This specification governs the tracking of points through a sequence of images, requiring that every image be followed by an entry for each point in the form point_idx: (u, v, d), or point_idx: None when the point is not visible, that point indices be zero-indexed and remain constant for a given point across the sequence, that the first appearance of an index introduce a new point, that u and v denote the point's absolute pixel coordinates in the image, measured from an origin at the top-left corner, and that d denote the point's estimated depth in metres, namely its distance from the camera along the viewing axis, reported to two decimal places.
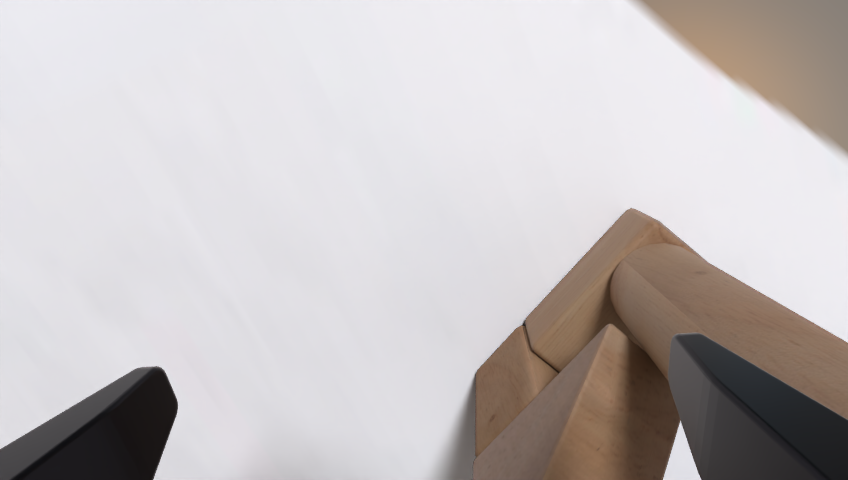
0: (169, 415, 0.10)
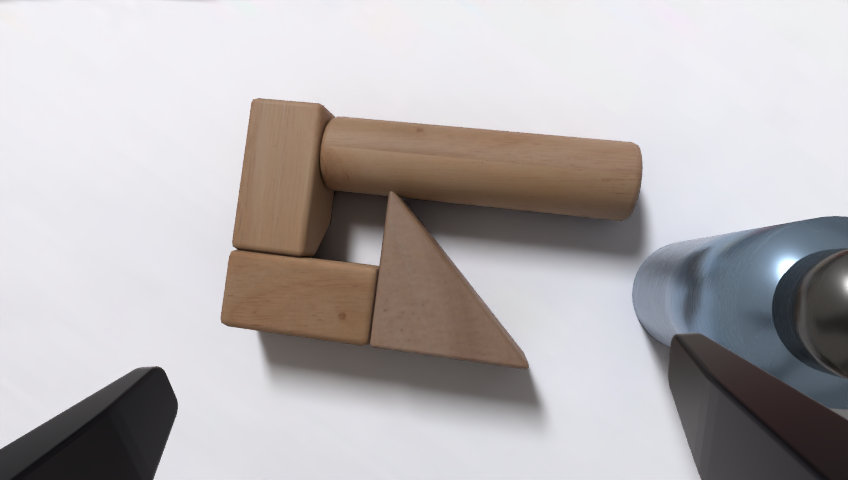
0: (169, 415, 0.10)
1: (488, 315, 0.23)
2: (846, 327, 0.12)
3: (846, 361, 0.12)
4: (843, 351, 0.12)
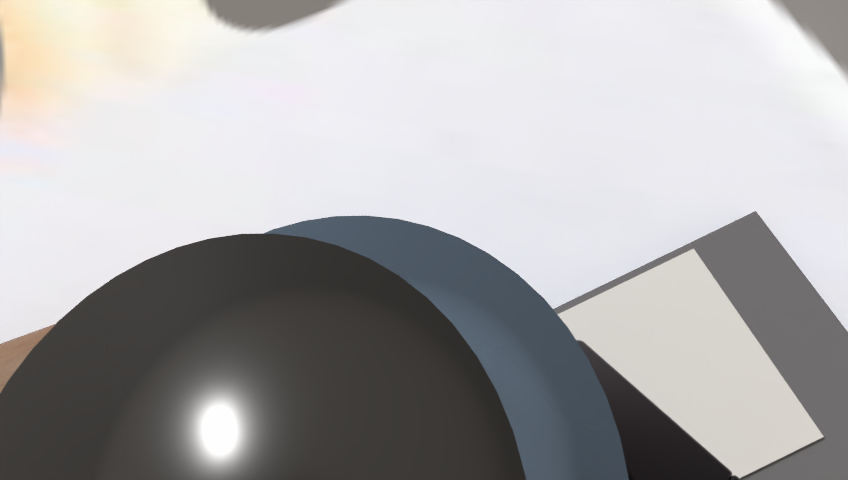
0: None
1: None
2: None
3: None
4: None
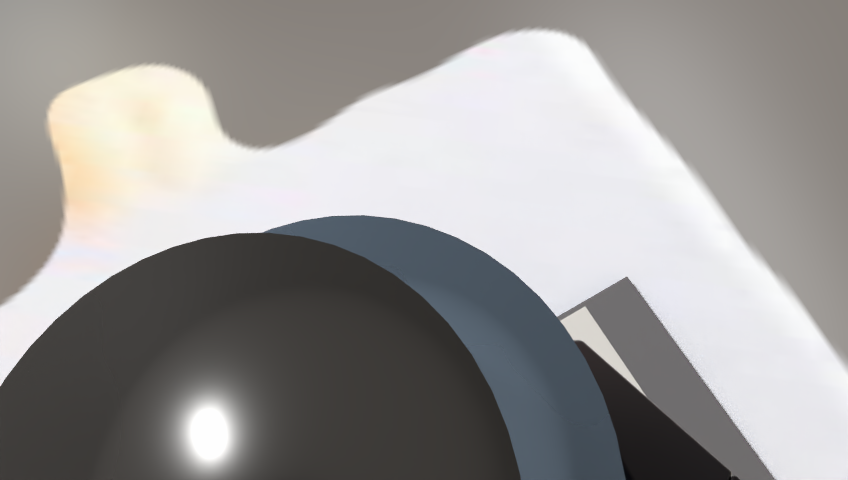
0: None
1: None
2: None
3: None
4: None
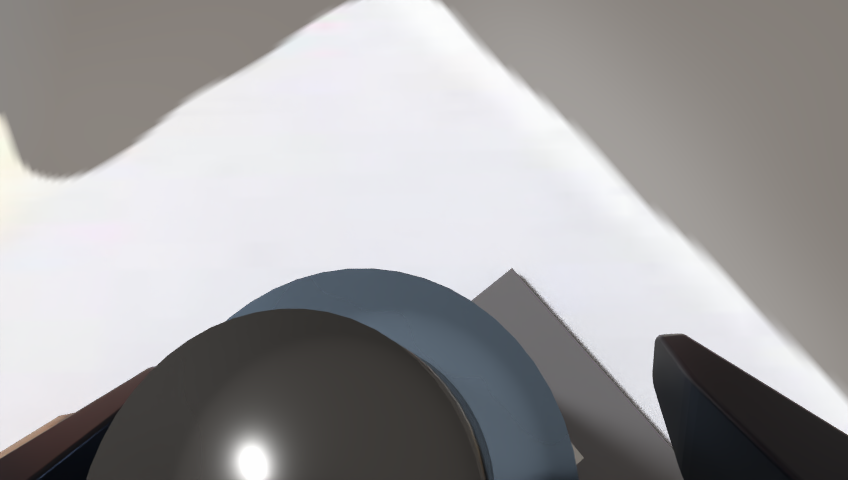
0: None
1: None
2: None
3: None
4: None
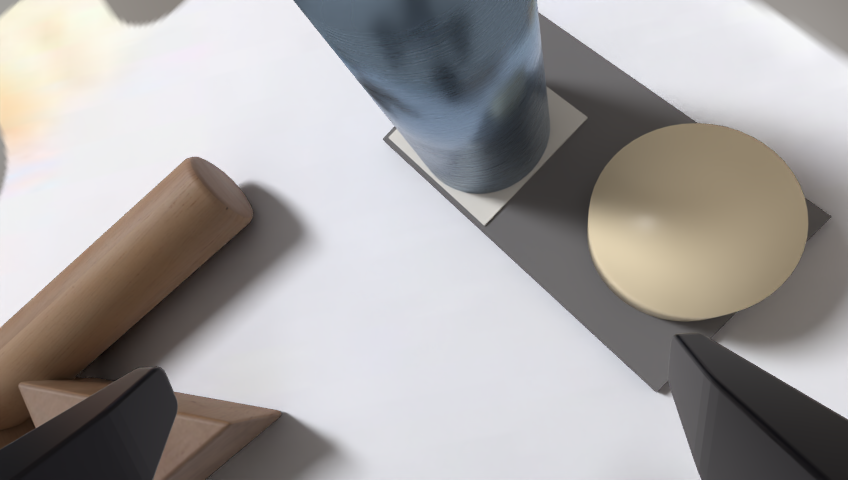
0: (169, 415, 0.10)
1: None
2: None
3: None
4: None
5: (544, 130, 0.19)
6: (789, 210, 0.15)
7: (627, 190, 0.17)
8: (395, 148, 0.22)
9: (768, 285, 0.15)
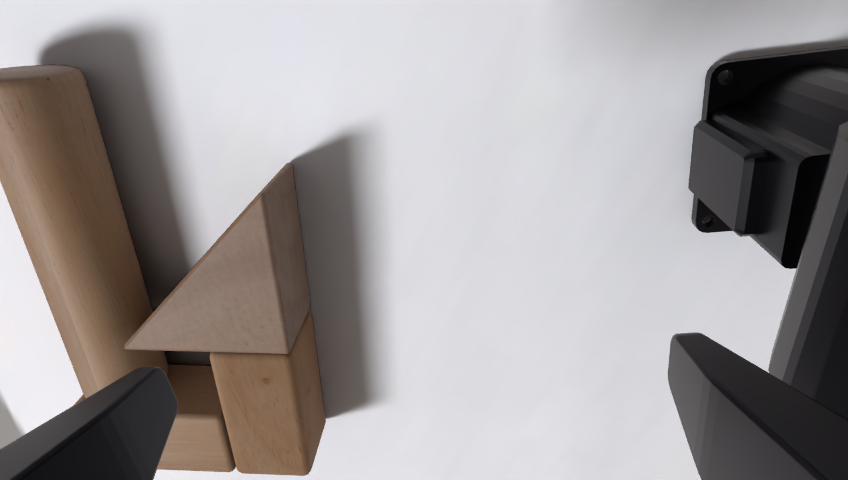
0: (169, 415, 0.10)
1: (217, 242, 0.19)
2: None
3: None
4: None
5: None
6: None
7: None
8: None
9: None
